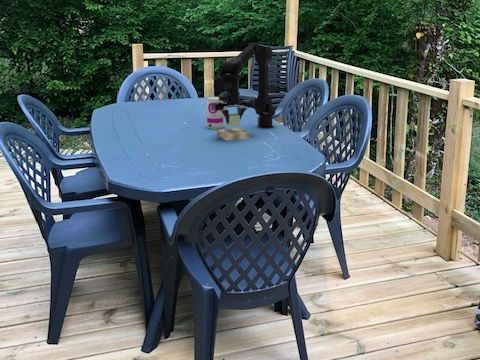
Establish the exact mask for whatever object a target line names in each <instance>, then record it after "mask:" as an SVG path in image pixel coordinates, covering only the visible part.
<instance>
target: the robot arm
mask: <svg viewBox="0 0 480 360" xmlns="http://www.w3.org/2000/svg"><path fill="white" fill-rule="evenodd" d="M253 56H254V60H255V62H256V64H257V69H258V70H257V75H258V76H257V82H258V84H257V85H258V86H257V89H258V90H257V91H258V93H257V96H256V97H255V98H254V99H253V101H254V102H253V101H252V100H250V99H242V100H241V101H240V95H241V92H240V85H239V84H240V82H239V81H240V80H242V77H241V76H240V74H241V72H242V71H243V70H244V65H245V64H246V63H247V62H249V60H250V59H251V58H252V57H253ZM272 59H273V49H272V48H271V47H270V46H266V45H261V44H260V43H256V42H255V43H254V42H253V43H252V42H249V43H248V44H247V46H246V47H245V48H244V49H243V50H242V51H241V52H240V53H239V54H238V55H237V56H236V57H234V58H232V59H231V58H230V59H229V60H227V61H226V62H225V63H224V64H223V67H222V70H221V72H220V75H219V76H217V77H216V80H215V81H214V83H213V89H214V91H215V92H216V93H218V97H219V101H223V103H221V102H214V103H212V109H214V110H220V111H222V113H223V118H224V120H225V124H226V123H227V124H228V123H229V114H230V113H229V110H228V108H236V109H237V114H238V115H240V121H241V119H242V117H243V115H244V113H245V111H247V110H248V108H249V109H251V108H254V110H255V114H256V115H258V117H257V127H259V128H261V129H265V128H274V127H275V126H274V125H273V116H275V115H276V111H277V110H276V109H275V107H274V106H273V103H272V101H273V100H272V98H271V97H270V95H269V64H270V63H271V61H272ZM224 93H225V94H224Z"/></svg>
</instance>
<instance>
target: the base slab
mask: <svg viewBox="0 0 480 360" xmlns="http://www.w3.org/2000/svg"><path fill="white" fill-rule="evenodd" d="M216 136H217V137H219V138H220V139H222V140H223V141H225V142H228V141H229V140H230V141H240V140H247V139H249V138H251V133H250V132H248V131H246V130H245V129H244V128H241V127H234V128H226V129H225V128H224V129H216Z"/></svg>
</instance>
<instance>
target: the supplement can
mask: <svg viewBox="0 0 480 360" xmlns="http://www.w3.org/2000/svg"><path fill="white" fill-rule="evenodd" d="M214 102H221V103H223V101H219V96H210V97H207V100H206V127H207V128H208V129H210V130H222V129H223V128H224V115H223V113H222V111H220V110H214V109H212V103H214ZM223 104H224V103H223Z"/></svg>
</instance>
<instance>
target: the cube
mask: <svg viewBox="0 0 480 360" xmlns="http://www.w3.org/2000/svg"><path fill="white" fill-rule="evenodd" d="M225 125H226V126H227V127H229V128H231V127H232V128H233V127H234V128H236V127H240V126H241V120H240V115H238V113H229V123H228V124H227V123H226V122H225Z"/></svg>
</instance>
